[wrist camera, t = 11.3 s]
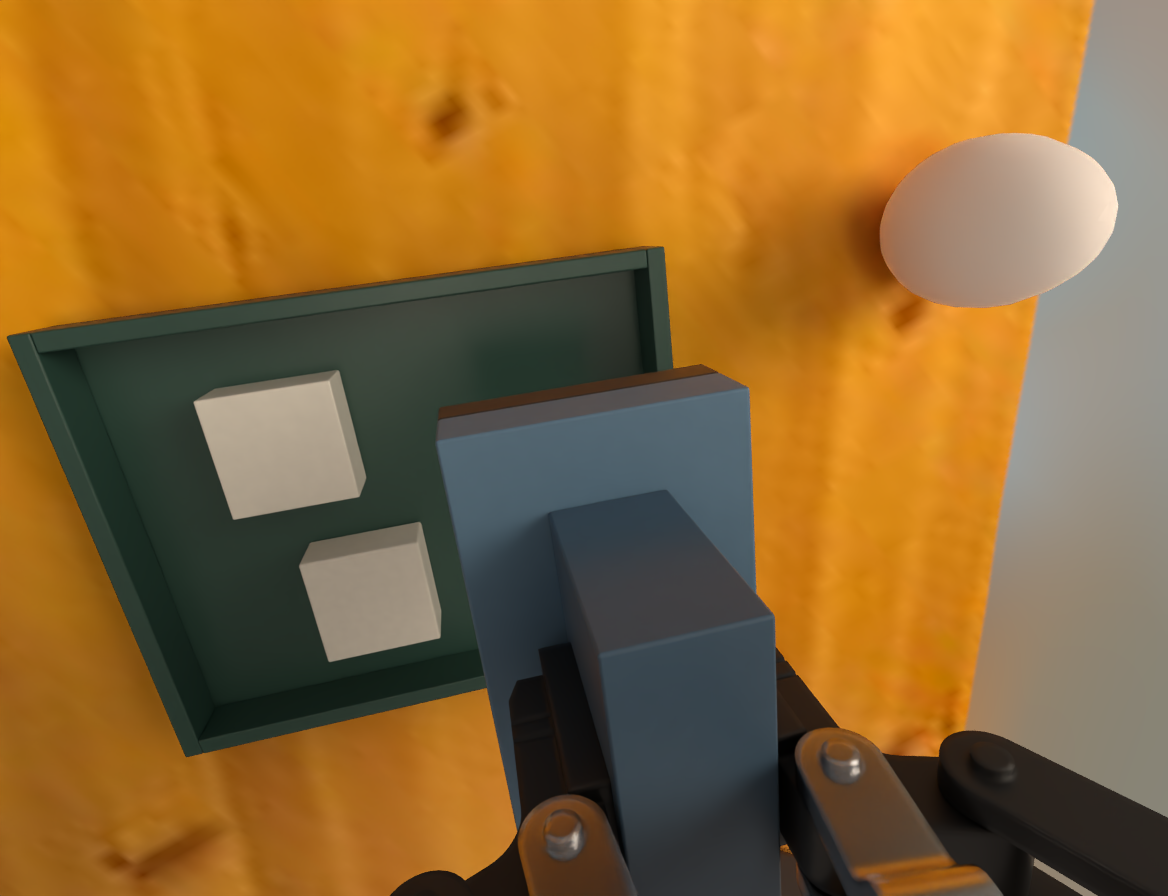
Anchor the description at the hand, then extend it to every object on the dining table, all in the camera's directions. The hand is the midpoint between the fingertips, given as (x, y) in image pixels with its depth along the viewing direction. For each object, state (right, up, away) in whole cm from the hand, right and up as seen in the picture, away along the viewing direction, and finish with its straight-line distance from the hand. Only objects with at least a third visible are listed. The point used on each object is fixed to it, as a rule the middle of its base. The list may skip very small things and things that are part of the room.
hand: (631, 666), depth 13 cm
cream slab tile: (-11, +5, +9) cm, 15 cm away
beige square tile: (-9, 0, +11) cm, 14 cm away
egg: (+11, +13, +11) cm, 21 cm away
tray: (-7, +3, +11) cm, 13 cm away
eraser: (-1, +1, +3) cm, 3 cm away
